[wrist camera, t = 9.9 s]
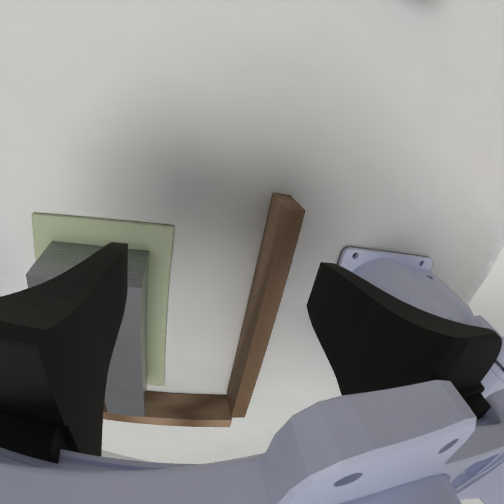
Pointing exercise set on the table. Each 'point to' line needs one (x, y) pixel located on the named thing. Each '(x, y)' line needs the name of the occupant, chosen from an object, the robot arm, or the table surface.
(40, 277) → the bracket
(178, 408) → the corner walls
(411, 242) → the table surface
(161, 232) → the mat
